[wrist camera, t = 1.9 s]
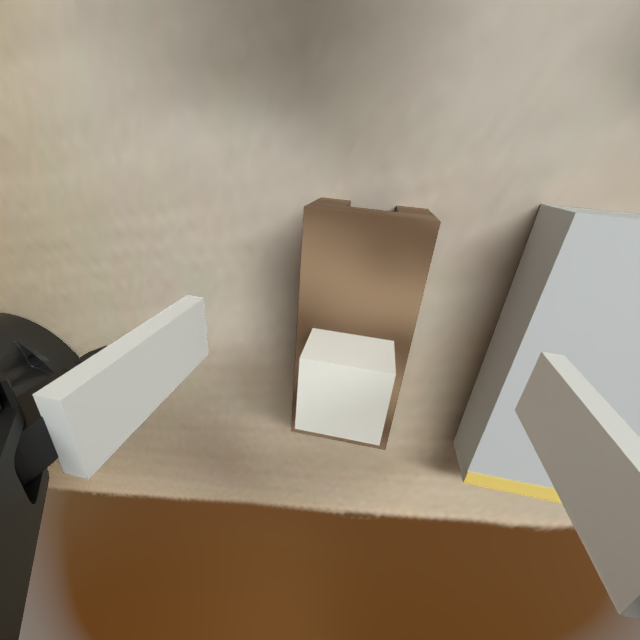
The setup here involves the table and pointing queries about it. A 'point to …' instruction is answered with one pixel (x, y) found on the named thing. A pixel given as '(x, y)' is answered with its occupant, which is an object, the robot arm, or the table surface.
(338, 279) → the notched wooden block
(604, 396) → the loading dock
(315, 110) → the table surface
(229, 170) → the table surface
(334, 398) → the small white block
